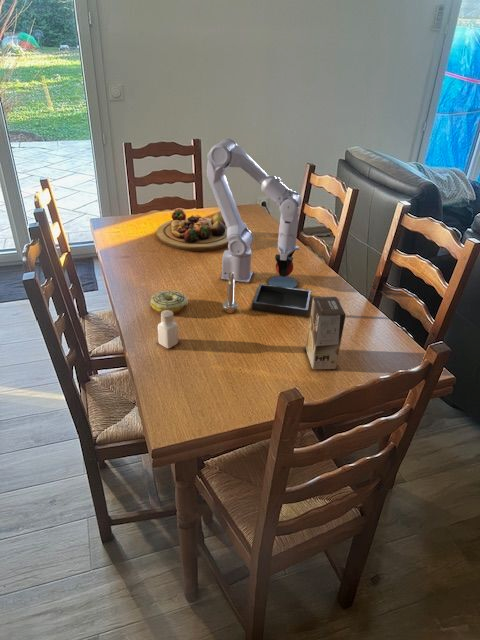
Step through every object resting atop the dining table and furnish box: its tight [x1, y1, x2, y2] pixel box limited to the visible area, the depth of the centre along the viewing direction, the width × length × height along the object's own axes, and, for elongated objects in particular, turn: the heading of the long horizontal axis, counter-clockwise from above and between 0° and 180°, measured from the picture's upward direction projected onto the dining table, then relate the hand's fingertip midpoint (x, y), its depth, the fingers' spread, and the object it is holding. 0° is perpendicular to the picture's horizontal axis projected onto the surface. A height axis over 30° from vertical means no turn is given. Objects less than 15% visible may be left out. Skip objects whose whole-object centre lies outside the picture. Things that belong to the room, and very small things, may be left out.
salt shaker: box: [157, 310, 179, 349], centre depth 122 cm, size 4×4×10 cm
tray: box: [251, 283, 312, 318], centre depth 145 cm, size 17×13×2 cm
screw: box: [221, 272, 239, 314], centre depth 136 cm, size 13×5×5 cm
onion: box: [275, 261, 294, 277], centre depth 153 cm, size 6×6×8 cm
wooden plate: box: [155, 208, 228, 252], centre depth 186 cm, size 32×32×8 cm
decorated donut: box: [150, 290, 189, 315], centre depth 139 cm, size 10×11×4 cm
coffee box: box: [305, 296, 347, 370], centre depth 117 cm, size 9×6×16 cm
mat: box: [267, 275, 298, 289], centre depth 156 cm, size 10×10×1 cm
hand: (283, 271), depth 154 cm, fingers closed on onion, 6 cm apart
